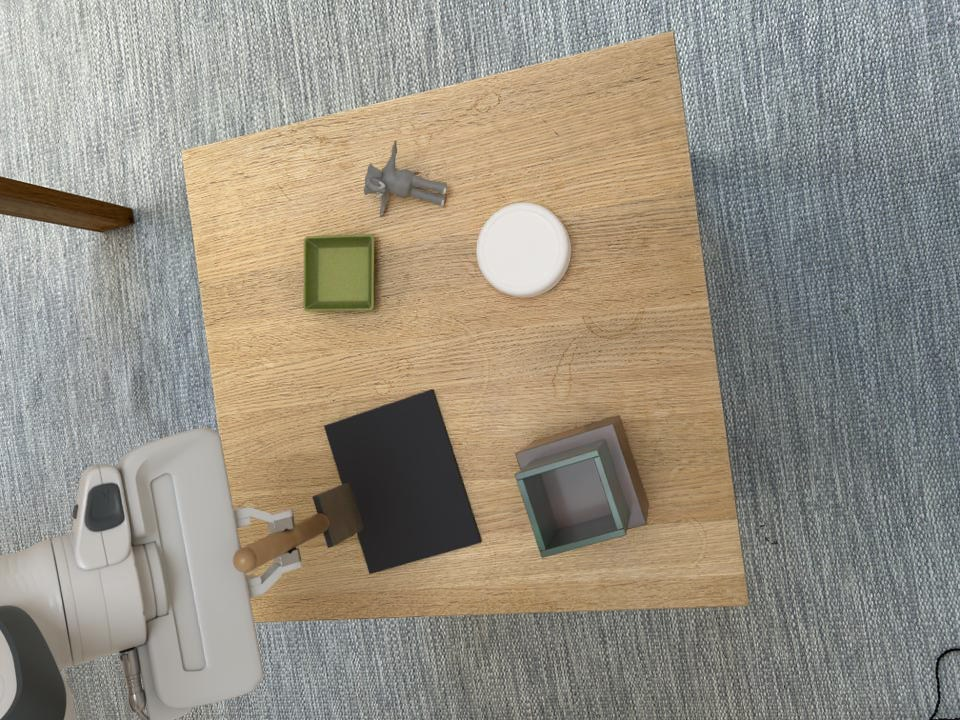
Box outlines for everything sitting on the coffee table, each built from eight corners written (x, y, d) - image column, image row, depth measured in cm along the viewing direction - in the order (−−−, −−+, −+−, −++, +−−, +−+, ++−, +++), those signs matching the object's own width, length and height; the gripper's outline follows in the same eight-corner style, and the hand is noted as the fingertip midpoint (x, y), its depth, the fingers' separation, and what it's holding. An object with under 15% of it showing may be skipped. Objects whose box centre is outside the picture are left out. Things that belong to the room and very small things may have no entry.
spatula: (369, 527, 75) (259, 592, 54) (353, 532, 75) (237, 598, 55) (355, 480, 75) (240, 527, 55) (338, 485, 75) (218, 533, 55)
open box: (649, 504, 82) (644, 545, 64) (560, 528, 84) (532, 575, 67) (619, 414, 83) (606, 431, 65) (532, 441, 85) (497, 465, 67)
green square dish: (311, 238, 91) (303, 235, 89) (380, 236, 89) (373, 233, 87) (311, 312, 91) (302, 311, 89) (380, 311, 89) (373, 310, 87)
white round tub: (525, 188, 85) (520, 181, 81) (590, 249, 83) (587, 245, 80) (464, 255, 86) (456, 251, 83) (527, 316, 85) (521, 315, 81)
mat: (482, 541, 86) (480, 542, 86) (371, 572, 89) (369, 574, 89) (433, 389, 87) (431, 389, 87) (325, 425, 91) (323, 425, 90)
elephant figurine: (433, 245, 87) (355, 225, 86) (439, 214, 92) (364, 195, 90) (453, 172, 80) (368, 149, 79) (458, 142, 84) (377, 120, 83)
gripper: (139, 748, 51) (333, 674, 59) (86, 447, 52) (284, 411, 59) (128, 722, 57) (307, 657, 64) (80, 450, 58) (262, 416, 65)
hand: (295, 536), depth 62 cm, fingers closed on spatula, 2 cm apart
